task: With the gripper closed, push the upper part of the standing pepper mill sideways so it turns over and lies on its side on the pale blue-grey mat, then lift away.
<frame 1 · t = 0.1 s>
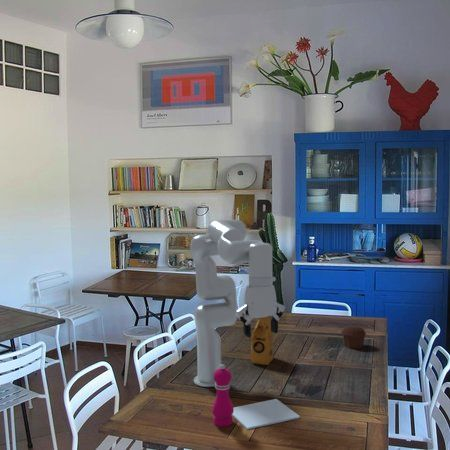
hand: (261, 334, 169), 31 cm above the table, tool pointing down, fingers open, 9 cm apart
pepper mill: (223, 423, 175), on the table
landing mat: (262, 414, 182), on the table
muffin: (353, 346, 256), on the table
coffee package: (261, 361, 237), on the table
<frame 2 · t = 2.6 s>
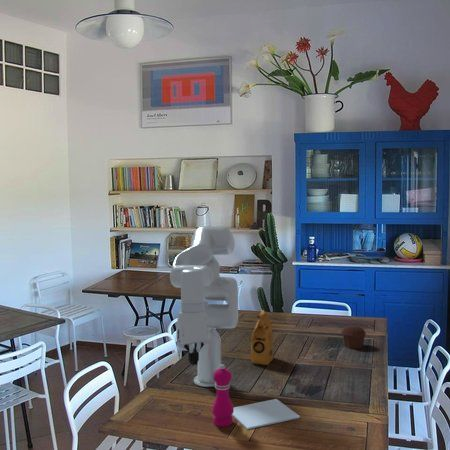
hand: (193, 363, 169), 22 cm above the table, tool pointing down, fingers closed
nothing on the table moved.
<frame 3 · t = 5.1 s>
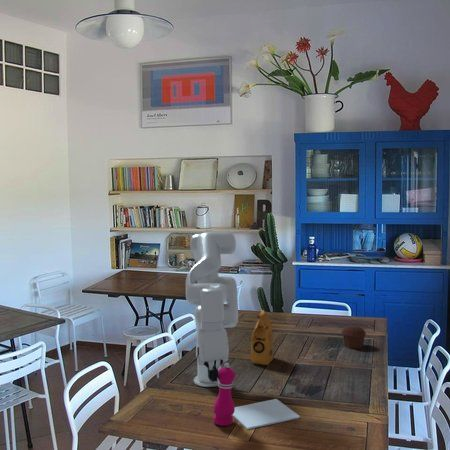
hand: (213, 380, 173), 15 cm above the table, tool pointing down, fingers closed
pepper mill: (222, 422, 175), on the table, touching gripper
everything else where it was.
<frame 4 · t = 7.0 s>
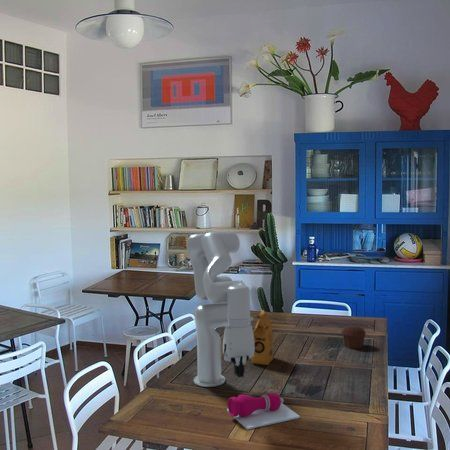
hand: (239, 375, 177), 15 cm above the table, tool pointing down, fingers closed
pepper mill: (230, 407, 177), point 4 cm above the table, touching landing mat
everything else where it was.
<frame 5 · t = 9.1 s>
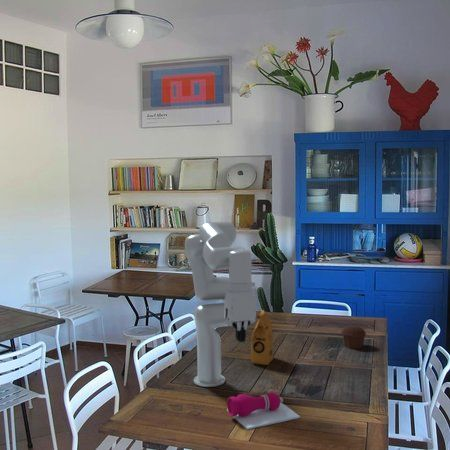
hand: (240, 340, 176), 27 cm above the table, tool pointing down, fingers closed
nothing on the table moved.
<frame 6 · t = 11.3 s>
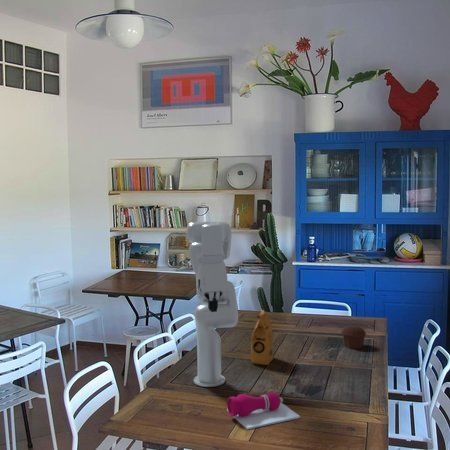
hand: (213, 310, 184), 35 cm above the table, tool pointing down, fingers closed
nothing on the table moved.
at the end: pepper mill tilted 93°; pepper mill touching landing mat; the gripper is holding nothing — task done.
